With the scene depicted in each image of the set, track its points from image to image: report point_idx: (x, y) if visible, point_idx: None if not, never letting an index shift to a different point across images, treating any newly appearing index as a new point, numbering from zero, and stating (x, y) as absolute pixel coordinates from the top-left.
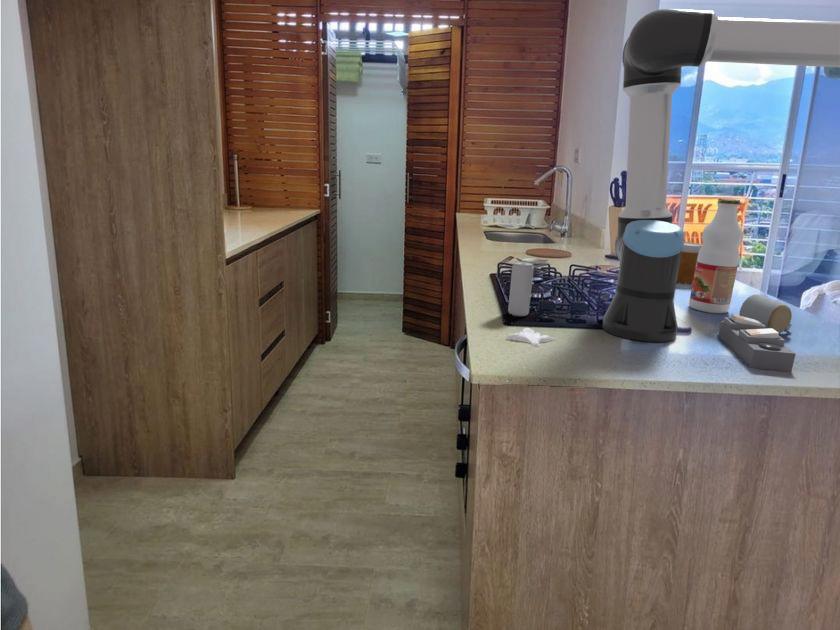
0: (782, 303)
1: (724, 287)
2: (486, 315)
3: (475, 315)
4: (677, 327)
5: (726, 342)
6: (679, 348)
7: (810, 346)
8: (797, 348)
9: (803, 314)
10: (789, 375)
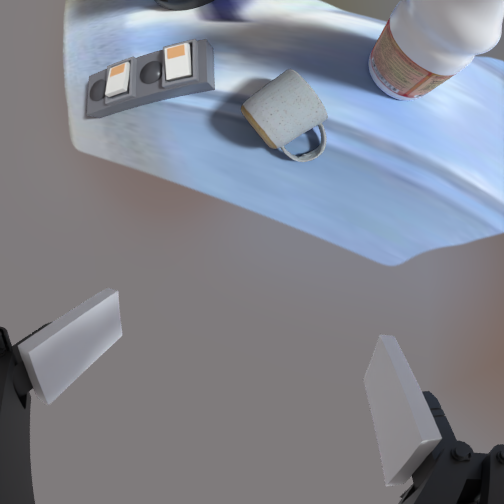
0: (267, 122)
1: (383, 60)
2: None
3: None
4: (178, 3)
5: None
6: (142, 19)
7: (213, 166)
8: (194, 143)
9: (435, 241)
10: None
